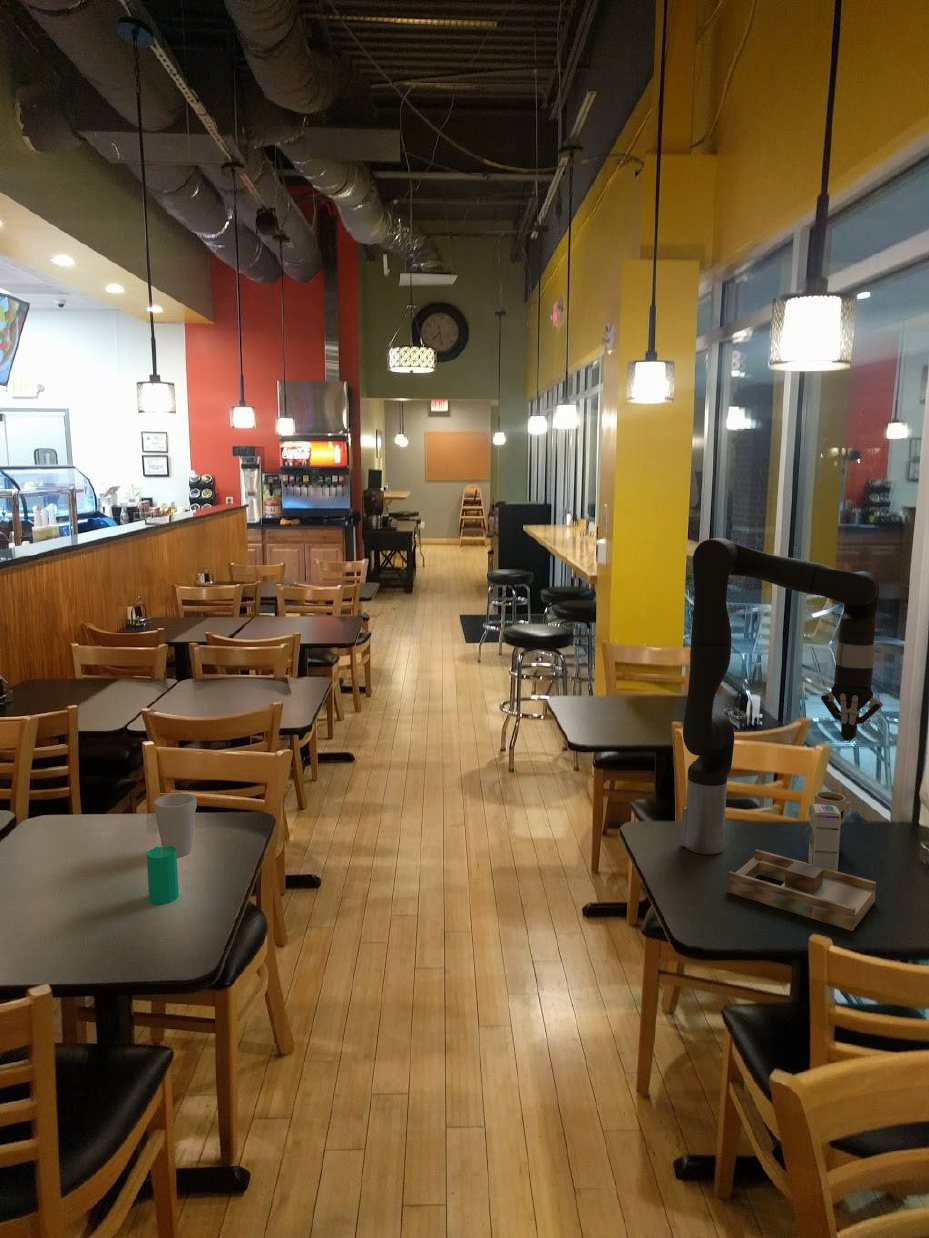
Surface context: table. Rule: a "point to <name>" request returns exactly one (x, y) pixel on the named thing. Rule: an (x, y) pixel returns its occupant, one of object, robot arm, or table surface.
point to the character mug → (832, 802)
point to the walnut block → (804, 877)
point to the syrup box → (824, 836)
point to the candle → (162, 875)
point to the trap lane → (831, 903)
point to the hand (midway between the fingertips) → (848, 739)
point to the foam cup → (176, 821)
